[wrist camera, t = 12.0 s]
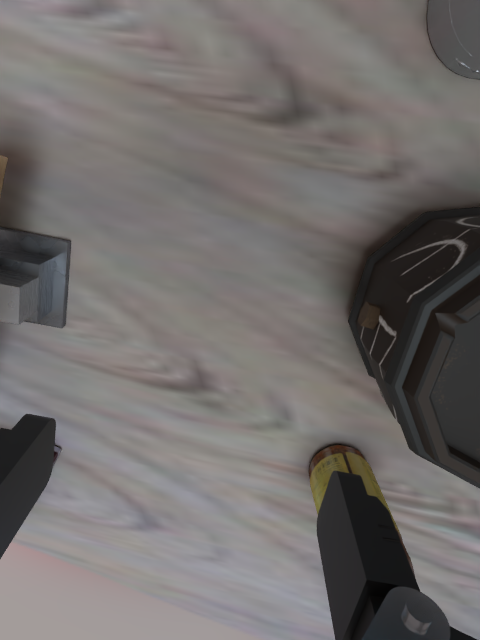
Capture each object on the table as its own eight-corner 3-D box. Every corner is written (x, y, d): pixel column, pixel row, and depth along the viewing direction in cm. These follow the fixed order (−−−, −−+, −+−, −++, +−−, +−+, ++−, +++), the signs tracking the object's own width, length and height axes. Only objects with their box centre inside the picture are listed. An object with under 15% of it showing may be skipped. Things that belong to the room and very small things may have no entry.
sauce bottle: (305, 489, 47) (341, 705, 29) (310, 439, 45) (352, 637, 26) (367, 492, 47) (444, 710, 29) (375, 442, 45) (463, 642, 26)
